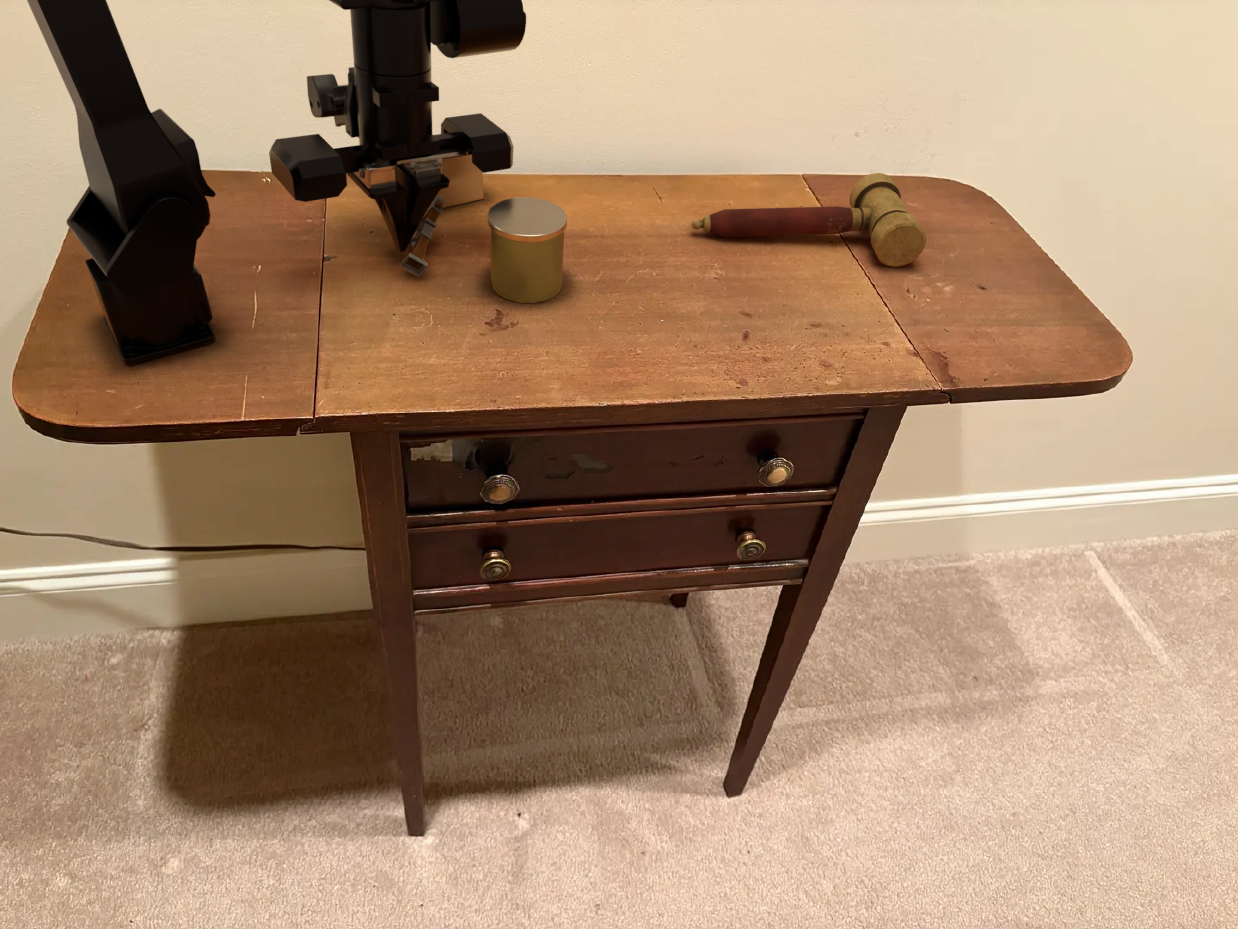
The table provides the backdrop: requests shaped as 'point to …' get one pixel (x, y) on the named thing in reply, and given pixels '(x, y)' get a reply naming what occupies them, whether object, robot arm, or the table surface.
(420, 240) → the wooden lantern post
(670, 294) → the table surface
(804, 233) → the gavel
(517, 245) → the enamel tin
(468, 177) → the birch block
